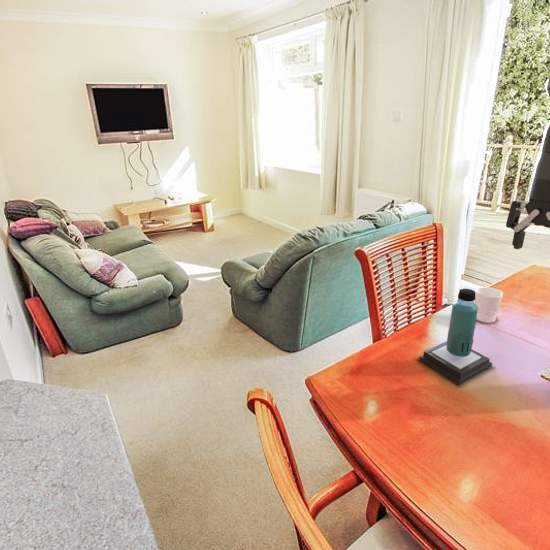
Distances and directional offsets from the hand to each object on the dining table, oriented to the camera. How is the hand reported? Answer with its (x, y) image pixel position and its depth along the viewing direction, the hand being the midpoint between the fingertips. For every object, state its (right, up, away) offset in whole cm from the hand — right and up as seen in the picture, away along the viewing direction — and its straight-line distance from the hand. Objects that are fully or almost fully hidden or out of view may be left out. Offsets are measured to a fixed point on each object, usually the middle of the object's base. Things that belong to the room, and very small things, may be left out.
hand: (538, 253), depth 79 cm
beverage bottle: (-4, -27, +26) cm, 38 cm away
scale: (-4, -30, +28) cm, 41 cm away
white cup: (+16, -20, +49) cm, 56 cm away
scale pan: (-5, -28, +27) cm, 39 cm away
